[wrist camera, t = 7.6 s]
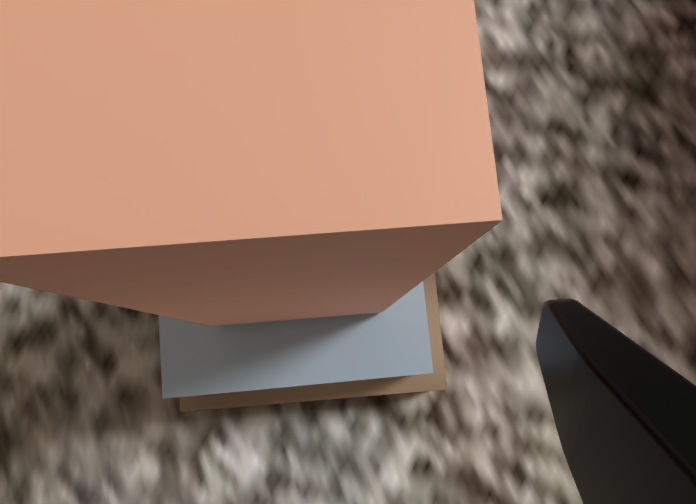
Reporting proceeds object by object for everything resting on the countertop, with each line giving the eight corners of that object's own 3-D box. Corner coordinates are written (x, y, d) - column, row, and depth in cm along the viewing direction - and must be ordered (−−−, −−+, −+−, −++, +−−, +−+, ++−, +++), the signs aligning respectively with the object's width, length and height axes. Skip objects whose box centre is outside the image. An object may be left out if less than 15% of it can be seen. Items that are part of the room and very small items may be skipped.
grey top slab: (424, 367, 19) (433, 372, 17) (188, 390, 19) (162, 398, 17) (398, 140, 20) (404, 113, 18) (176, 162, 20) (150, 138, 18)
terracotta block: (381, 312, 17) (502, 219, 5) (211, 326, 17) (-87, 263, 5) (367, 151, 18) (439, -255, 6) (205, 162, 17) (-63, -238, 6)
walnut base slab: (437, 383, 21) (447, 389, 19) (200, 402, 22) (180, 411, 19) (413, 154, 23) (419, 132, 20) (190, 174, 23) (169, 154, 20)
